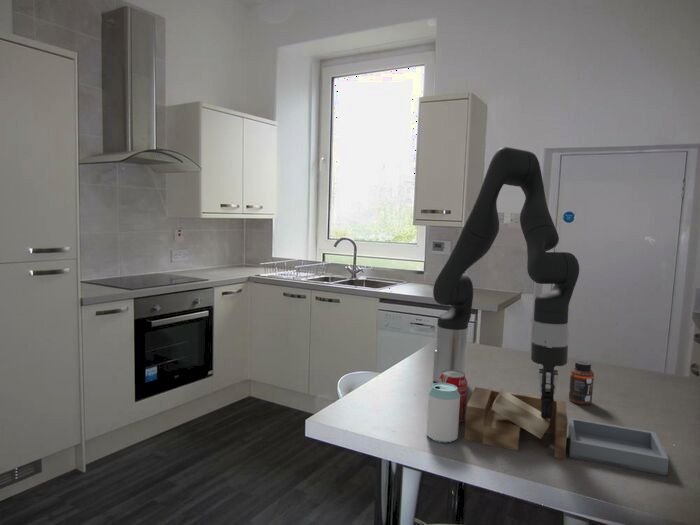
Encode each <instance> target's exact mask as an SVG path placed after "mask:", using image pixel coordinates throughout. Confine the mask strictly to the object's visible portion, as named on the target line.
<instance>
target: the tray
mask: <svg viewBox="0 0 700 525" xmlns="http://www.w3.org/2000/svg"><path fill="white" fill-rule="evenodd" d="M567 421H568V426H567V442H568V444H567V445H568V452H569V457H570V458H575V459H578V460H579V459H580V460H584V461H585V460H586V461H588V462H589V461H590V462H595V463H600V464H606V465H610V466H615V467H621V468H625V469H631V470H636V471H641V472H646V473H651V474H656V475H661V476H666V477H667V476H668V471H669V469H668V468H669V460H670V459H669V456H668V455H667V453H666V451H665V449H664V447H663V444H662V443H661V442H660V440H659V438H658V437H659V436H658V435H657V433H656V432H655V431H652V430H644V429H639V428H634V427H627V426H621V425H615V424H610V423H604V422H596V421H591V420H586V419H579V418H574V417H567Z"/></svg>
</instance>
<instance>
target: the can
mask: <svg viewBox="0 0 700 525" xmlns="http://www.w3.org/2000/svg"><path fill="white" fill-rule="evenodd" d="M457 389H458V388H457V387H456V386H455V385H452V384H449V383H438V382H436V383H432V384H431V388H430V390H429V391H428V400H427V419H426V435H427V437H429V438H430V439H431V438H432V439H434V440H436V441H435V442H437V441H440V442H439V443H441V442H449V443H451V442H450V441H452V442H454V441H455V440H457V439H458V437H459V424H460V423H459V406H460V394H459V392H458V391H457ZM432 439H431V440H432ZM434 440H433V441H434Z"/></svg>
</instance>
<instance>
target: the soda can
mask: <svg viewBox="0 0 700 525" xmlns="http://www.w3.org/2000/svg"><path fill="white" fill-rule="evenodd" d="M439 383H449V384H452V385H455V386H456V387H457V388H458V389H457V391H458V392H459V394H460V406H459V423H458V424H460V423H461V422H463V421H465V420H466V408H467V398H468V380H467V378H466V372H465V373H463V372H461V371H458V370H444V371H442V375H441V376H440V378H439Z"/></svg>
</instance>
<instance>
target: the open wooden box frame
mask: <svg viewBox="0 0 700 525" xmlns="http://www.w3.org/2000/svg"><path fill="white" fill-rule="evenodd" d="M500 391H501V390H497V389H496V390H495V389H489V388H483V387H477V386H476V387H474V389H473V391H472V393H471V395H470V398H469V400H468V402H467V403H466V414H465V428H464V441H468V442H473V443H479V444H483V445H489V446H494V447H499V448H504V449H508V450H514V451H518V450H519V443H520V436H521V429H523V428H522V427H520V426H518V425H517V424H515V423H513V422H512V421H510V420H508V419H507V418H505V417H504V416H502V415H500V414H499V413H497V412H495V411H494V410H492V406H493V403H494V401H495V399H496V397H497V396H498V394H499V392H500ZM507 392H508V391H507ZM508 393H509V394H511V395H513V396H515V397H516V398H518V399H520V400H521V401H523V402H525V403H527V404H528V405H530V406H532V407H533V408H535V409H537V410H538V411H540V412H541V408H542V401H541V396H540V397H539V396H533V395H528V394H519V393H517V392H516V393H515V392H508ZM567 431H568V411H567V402H566V401H565V400H559V399H554V401H553V403H552V418H551V419H550V425H549V427H548V428H547V430H546V432H545V433H547V434H553V436H554V438H553V441H554V442H553V444H554V450H553V451H554V459H559V460H566V448H567V439H568V432H567Z"/></svg>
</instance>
